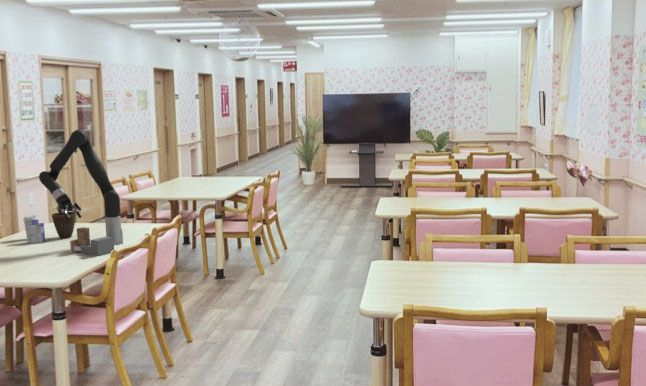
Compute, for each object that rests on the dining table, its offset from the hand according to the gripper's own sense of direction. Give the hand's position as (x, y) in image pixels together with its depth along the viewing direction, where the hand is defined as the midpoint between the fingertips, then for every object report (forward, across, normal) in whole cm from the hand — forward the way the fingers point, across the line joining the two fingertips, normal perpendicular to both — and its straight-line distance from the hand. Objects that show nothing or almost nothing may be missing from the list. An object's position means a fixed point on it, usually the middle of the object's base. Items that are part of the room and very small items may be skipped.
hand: (75, 218), depth 434 cm
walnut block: (+17, +1, +8) cm, 19 cm away
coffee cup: (-26, +14, +55) cm, 62 cm away
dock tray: (+17, +1, +9) cm, 20 cm away
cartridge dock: (+26, 0, +1) cm, 26 cm away
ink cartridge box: (-17, +7, +46) cm, 50 cm away
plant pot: (-14, +26, +43) cm, 52 cm away
